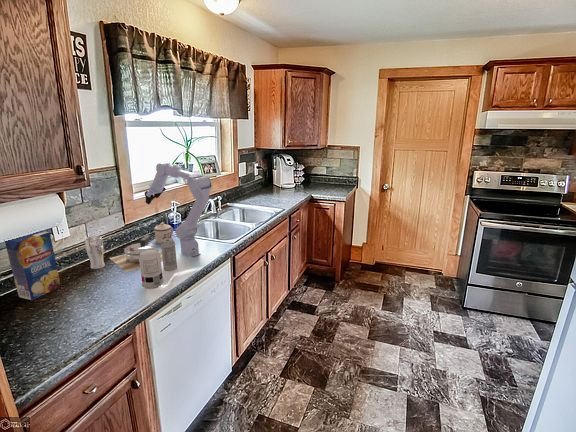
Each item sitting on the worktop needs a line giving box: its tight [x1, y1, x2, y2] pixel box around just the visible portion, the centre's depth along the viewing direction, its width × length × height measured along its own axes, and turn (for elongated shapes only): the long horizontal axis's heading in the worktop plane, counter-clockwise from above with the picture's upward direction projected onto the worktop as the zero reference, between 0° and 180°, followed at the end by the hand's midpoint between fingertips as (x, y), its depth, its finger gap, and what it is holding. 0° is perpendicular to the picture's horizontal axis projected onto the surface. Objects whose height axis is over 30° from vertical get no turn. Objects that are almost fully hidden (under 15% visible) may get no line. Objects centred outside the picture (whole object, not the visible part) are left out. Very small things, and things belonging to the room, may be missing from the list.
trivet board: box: [109, 247, 163, 273], centre depth 164 cm, size 22×22×1 cm
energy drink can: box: [160, 237, 178, 272], centre depth 151 cm, size 6×6×15 cm
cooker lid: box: [123, 234, 155, 255], centre depth 165 cm, size 19×14×3 cm
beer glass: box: [84, 235, 106, 270], centre depth 153 cm, size 7×7×15 cm
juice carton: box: [4, 230, 62, 301], centre depth 131 cm, size 12×8×24 cm, turn 161°
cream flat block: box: [124, 252, 139, 264], centre depth 164 cm, size 20×13×4 cm, turn 36°
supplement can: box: [139, 248, 164, 290], centre depth 138 cm, size 8×8×15 cm
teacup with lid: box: [153, 221, 174, 244], centre depth 188 cm, size 12×9×12 cm
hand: (151, 200), depth 179 cm, fingers open, 7 cm apart
